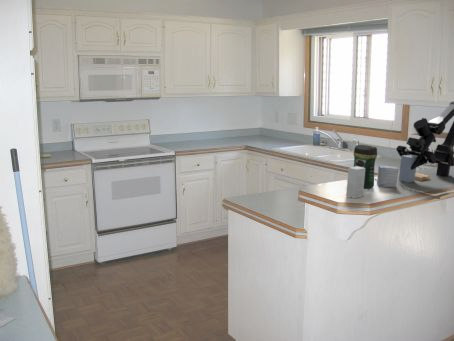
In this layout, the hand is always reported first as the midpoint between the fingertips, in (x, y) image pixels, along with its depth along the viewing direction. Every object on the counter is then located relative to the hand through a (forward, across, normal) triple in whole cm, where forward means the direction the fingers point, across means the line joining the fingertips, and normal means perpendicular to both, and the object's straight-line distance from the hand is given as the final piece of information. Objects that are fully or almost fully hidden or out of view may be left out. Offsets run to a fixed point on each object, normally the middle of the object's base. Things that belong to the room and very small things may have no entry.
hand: (406, 167), depth 227 cm
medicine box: (+15, 0, -4) cm, 15 cm away
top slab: (-4, 0, +12) cm, 13 cm away
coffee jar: (+23, -3, -13) cm, 27 cm away
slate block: (+4, 0, +6) cm, 7 cm away
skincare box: (+34, +6, -24) cm, 43 cm away
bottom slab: (-2, 0, +14) cm, 14 cm away
